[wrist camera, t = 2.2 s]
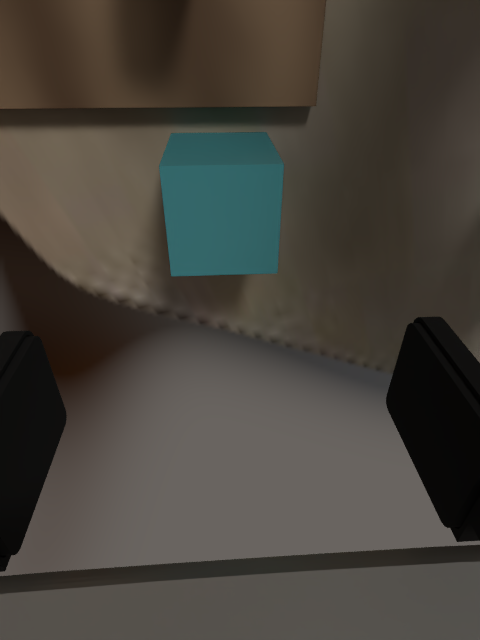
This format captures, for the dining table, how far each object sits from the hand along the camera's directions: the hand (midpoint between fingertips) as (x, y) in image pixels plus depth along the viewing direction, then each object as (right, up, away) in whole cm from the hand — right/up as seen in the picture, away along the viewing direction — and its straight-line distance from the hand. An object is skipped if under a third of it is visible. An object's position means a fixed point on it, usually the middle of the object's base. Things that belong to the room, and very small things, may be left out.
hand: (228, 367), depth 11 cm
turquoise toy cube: (-1, +9, +13) cm, 16 cm away
